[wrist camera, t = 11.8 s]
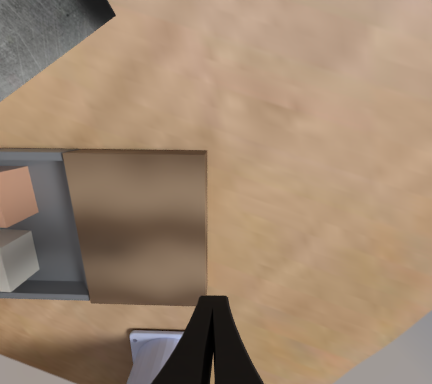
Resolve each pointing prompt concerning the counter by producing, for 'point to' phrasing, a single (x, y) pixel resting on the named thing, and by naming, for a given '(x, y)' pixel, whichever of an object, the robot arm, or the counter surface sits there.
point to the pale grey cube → (16, 258)
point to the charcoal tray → (49, 228)
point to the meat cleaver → (43, 34)
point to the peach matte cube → (16, 195)
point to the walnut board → (141, 224)
